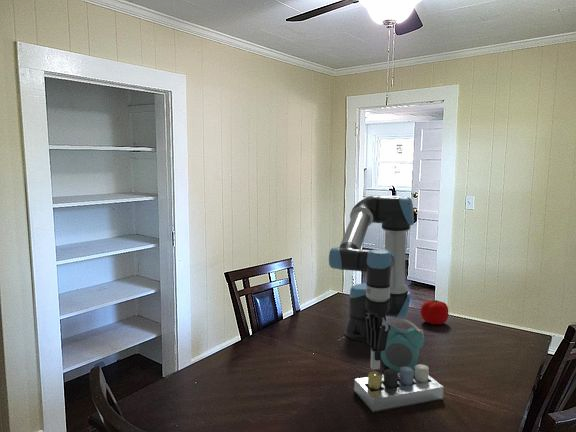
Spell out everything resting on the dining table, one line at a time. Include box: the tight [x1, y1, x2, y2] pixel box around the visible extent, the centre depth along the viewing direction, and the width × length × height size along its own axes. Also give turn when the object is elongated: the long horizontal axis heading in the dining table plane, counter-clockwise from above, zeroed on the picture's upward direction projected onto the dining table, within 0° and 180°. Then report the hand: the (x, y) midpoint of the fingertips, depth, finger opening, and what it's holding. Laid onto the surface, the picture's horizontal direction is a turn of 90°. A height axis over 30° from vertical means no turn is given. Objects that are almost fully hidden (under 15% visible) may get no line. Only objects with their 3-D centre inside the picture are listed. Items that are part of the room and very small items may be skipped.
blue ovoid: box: [400, 367, 415, 386], centre depth 144 cm, size 4×4×6 cm
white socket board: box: [353, 369, 445, 413], centre depth 143 cm, size 13×26×4 cm, turn 107°
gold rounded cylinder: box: [367, 371, 383, 392], centre depth 140 cm, size 4×4×6 cm
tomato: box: [420, 299, 449, 326], centre depth 209 cm, size 12×13×12 cm
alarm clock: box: [380, 317, 425, 372], centre depth 162 cm, size 17×10×20 cm, turn 71°
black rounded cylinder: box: [383, 368, 398, 389], centre depth 142 cm, size 4×4×6 cm
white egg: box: [414, 363, 430, 384], centre depth 146 cm, size 4×4×6 cm
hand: (375, 368), depth 140 cm, fingers closed
